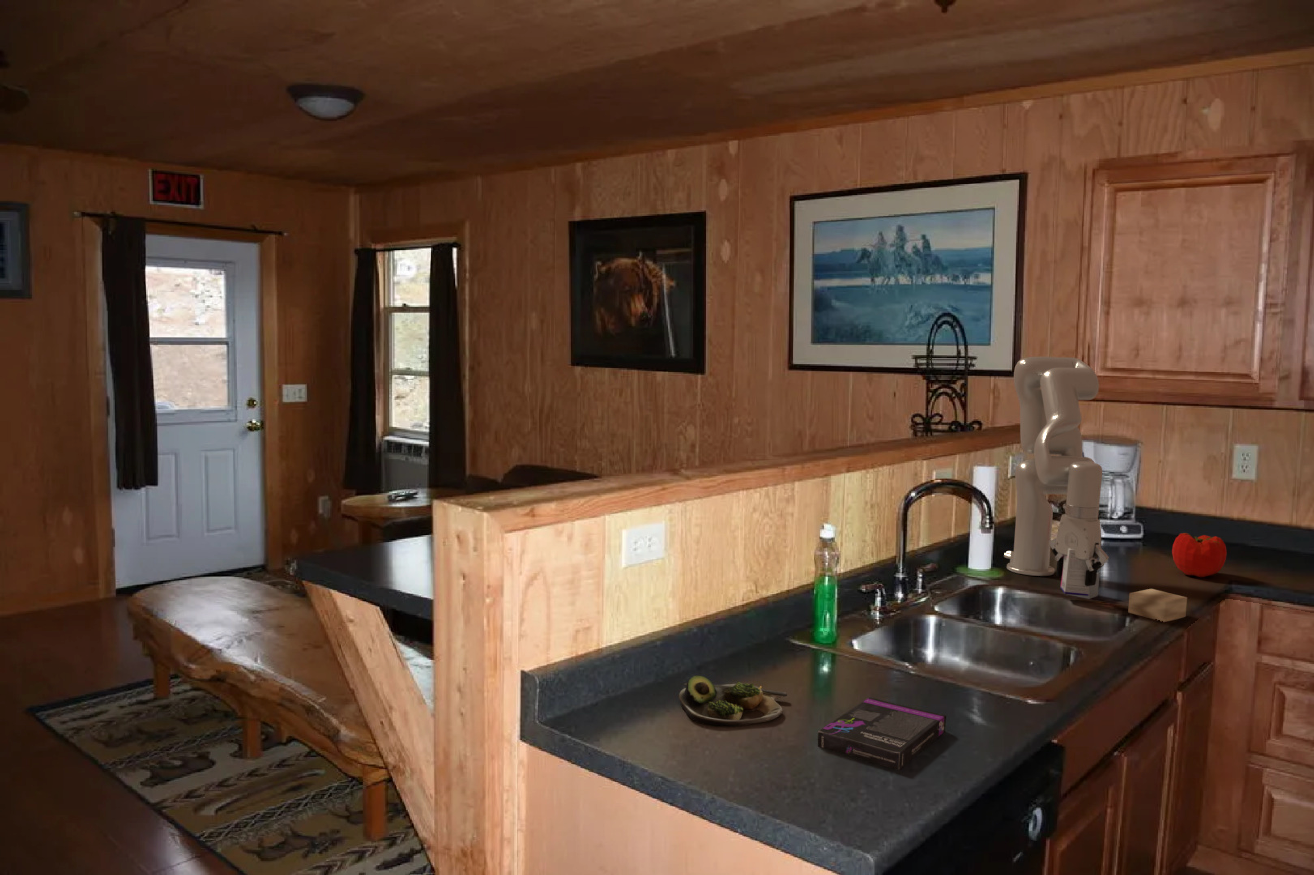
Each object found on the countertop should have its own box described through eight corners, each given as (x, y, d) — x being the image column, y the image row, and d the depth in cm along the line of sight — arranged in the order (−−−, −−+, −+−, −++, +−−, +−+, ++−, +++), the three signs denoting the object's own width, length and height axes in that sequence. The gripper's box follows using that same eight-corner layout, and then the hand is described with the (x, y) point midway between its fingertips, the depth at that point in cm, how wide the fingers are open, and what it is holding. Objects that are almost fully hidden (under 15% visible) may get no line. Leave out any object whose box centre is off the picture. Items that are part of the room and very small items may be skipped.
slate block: (1069, 594, 256) (1071, 572, 255) (1078, 591, 259) (1080, 569, 259) (1089, 599, 252) (1091, 575, 252) (1097, 595, 256) (1099, 573, 255)
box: (868, 715, 174) (815, 749, 158) (869, 696, 174) (816, 727, 158) (946, 735, 166) (898, 773, 150) (947, 714, 165) (899, 750, 150)
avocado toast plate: (771, 687, 185) (772, 663, 184) (807, 724, 168) (808, 698, 167) (670, 693, 181) (670, 668, 180) (695, 732, 163) (696, 705, 163)
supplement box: (1089, 596, 246) (1093, 551, 244) (1064, 594, 247) (1068, 549, 245) (1084, 589, 252) (1088, 545, 250) (1059, 587, 253) (1063, 543, 251)
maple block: (1128, 613, 241) (1129, 593, 240) (1149, 608, 246) (1151, 588, 245) (1163, 623, 233) (1165, 602, 233) (1185, 617, 238) (1187, 597, 238)
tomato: (1173, 577, 277) (1177, 536, 276) (1168, 566, 290) (1171, 527, 289) (1228, 583, 272) (1231, 541, 271) (1220, 572, 285) (1224, 531, 284)
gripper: (1042, 506, 252) (1036, 573, 255) (1102, 521, 237) (1095, 592, 240) (1063, 503, 256) (1057, 569, 258) (1122, 518, 241) (1115, 588, 243)
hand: (1075, 580), depth 249 cm, fingers closed on supplement box, 7 cm apart
